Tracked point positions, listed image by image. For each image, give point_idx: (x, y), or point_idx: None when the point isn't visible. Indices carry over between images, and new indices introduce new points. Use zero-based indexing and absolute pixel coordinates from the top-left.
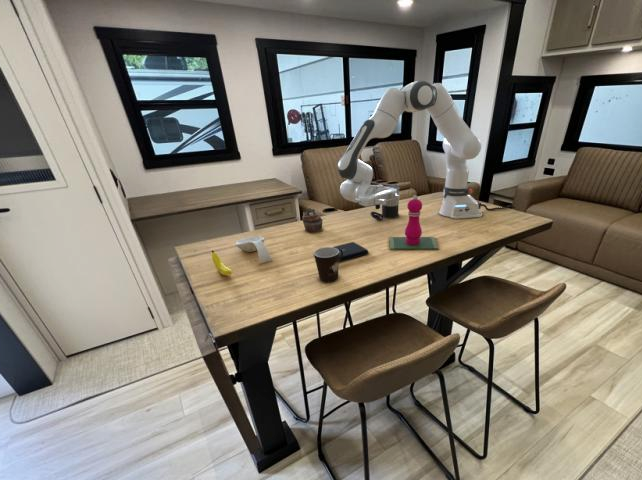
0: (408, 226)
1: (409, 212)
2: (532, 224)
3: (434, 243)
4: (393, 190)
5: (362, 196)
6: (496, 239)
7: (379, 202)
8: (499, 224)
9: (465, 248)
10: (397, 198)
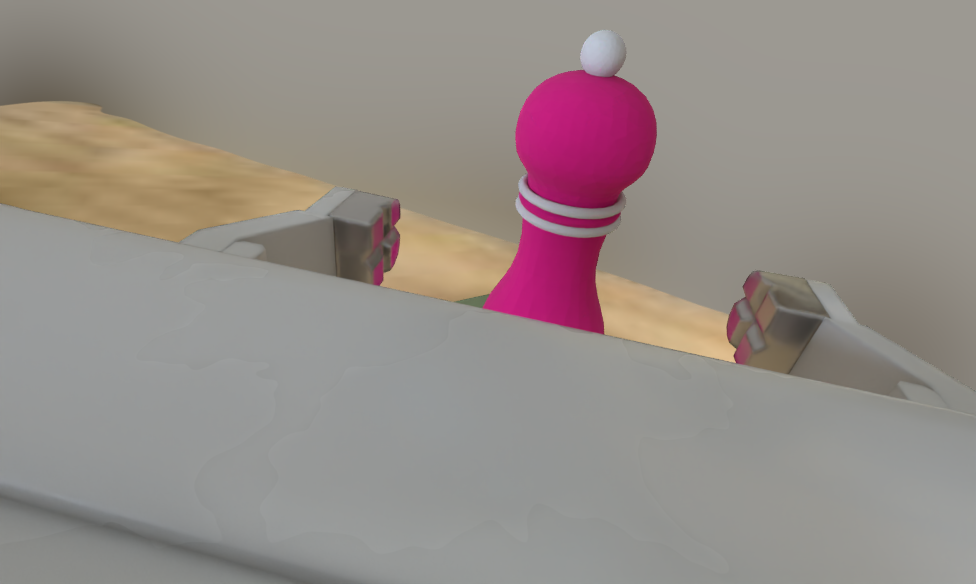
0: (595, 310)
1: (620, 204)
2: (103, 119)
3: (475, 304)
4: (29, 224)
5: None
6: (308, 177)
7: (861, 389)
8: (90, 166)
9: (451, 231)
10: (396, 239)
